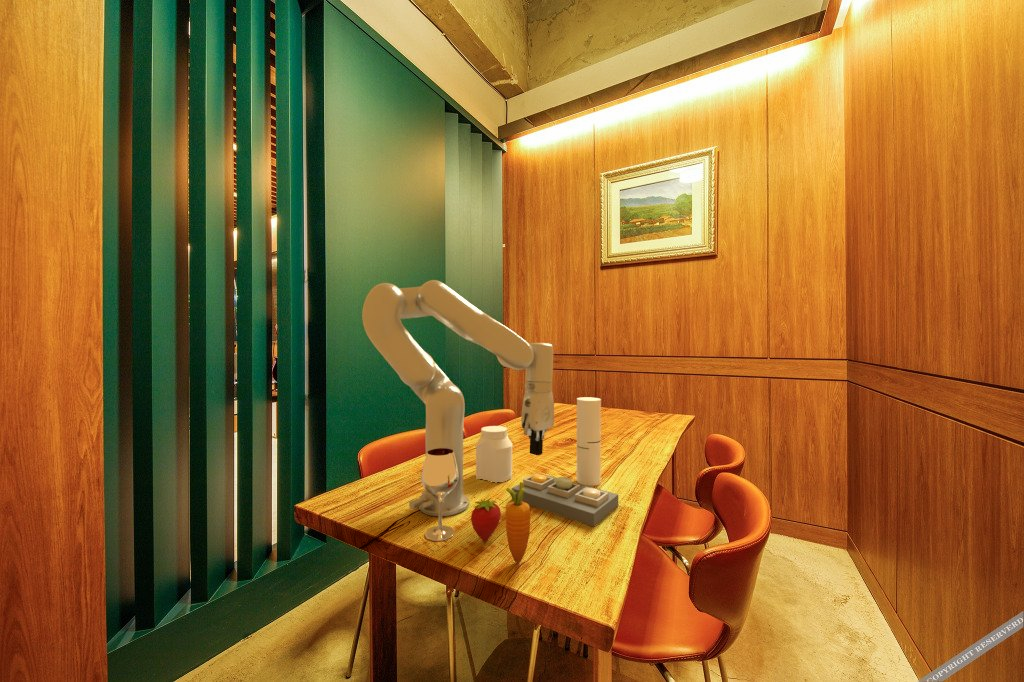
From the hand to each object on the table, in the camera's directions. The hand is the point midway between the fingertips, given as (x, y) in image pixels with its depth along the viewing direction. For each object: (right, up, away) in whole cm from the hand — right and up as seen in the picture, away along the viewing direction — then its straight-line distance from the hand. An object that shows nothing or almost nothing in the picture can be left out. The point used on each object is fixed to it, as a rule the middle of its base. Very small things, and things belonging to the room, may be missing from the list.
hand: (535, 453), depth 103 cm
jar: (-12, -12, +14) cm, 22 cm away
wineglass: (-22, -11, -21) cm, 33 cm away
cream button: (+13, -8, -10) cm, 18 cm away
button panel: (+7, -11, -5) cm, 14 cm away
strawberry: (-12, -11, -24) cm, 29 cm away
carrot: (-5, -11, -32) cm, 34 cm away
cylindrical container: (+17, -12, +11) cm, 23 cm away
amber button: (+1, -8, 0) cm, 8 cm away
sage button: (+7, -7, -5) cm, 11 cm away
